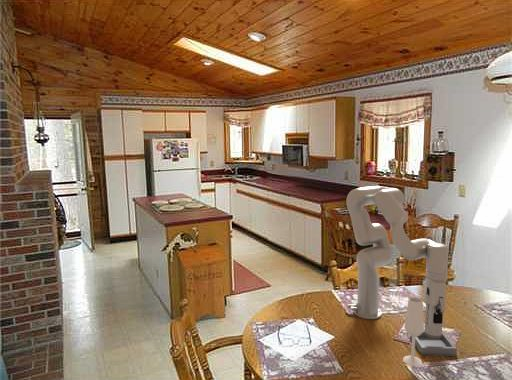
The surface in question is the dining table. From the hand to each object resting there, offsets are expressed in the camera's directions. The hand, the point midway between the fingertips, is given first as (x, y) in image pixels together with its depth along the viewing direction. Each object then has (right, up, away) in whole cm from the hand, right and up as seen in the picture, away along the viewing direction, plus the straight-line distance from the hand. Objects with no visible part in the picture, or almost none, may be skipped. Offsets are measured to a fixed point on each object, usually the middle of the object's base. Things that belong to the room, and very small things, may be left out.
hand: (434, 318), depth 152 cm
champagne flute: (-12, -13, -8) cm, 19 cm away
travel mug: (0, -7, +1) cm, 7 cm away
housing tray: (0, -12, +2) cm, 12 cm away
